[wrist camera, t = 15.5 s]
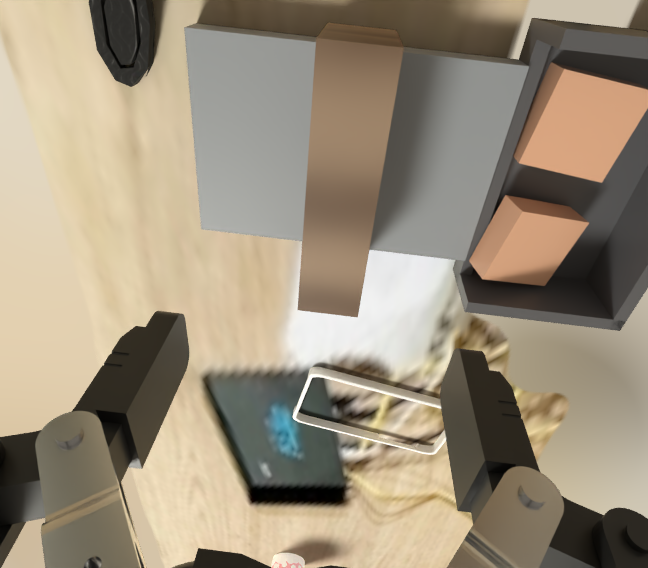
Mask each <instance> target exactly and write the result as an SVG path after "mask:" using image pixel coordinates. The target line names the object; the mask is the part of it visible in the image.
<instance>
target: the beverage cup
mask: <svg viewBox="0 0 648 568" xmlns="http://www.w3.org/2000/svg"><path fill="white" fill-rule="evenodd" d="M271 567H272V568H304V567H305V561H304V559H303V558H302V557H300V556H299V555H296V554H292V553H279V554H276V555H275V556H274V557H273V561H272V566H271Z"/></svg>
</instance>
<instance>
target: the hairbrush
mask: <svg viewBox="0 0 648 568" xmlns="http://www.w3.org/2000/svg"><path fill="white" fill-rule="evenodd" d="M89 6H90V12H91V17H92V23H93V29H94V35H95V41H96V46H97V51H98V52H99V54H100V56H101V57H102V59H103V61H104V62H105V64H106V65H107V67H108V69H109V70H110V72H111V74H112V75H113V77H114V79H115V80H116V81H118V82H121V83H123V84H126V85H128V86H130V87H132V86H134V85H136V84H137V83H139V81H140V80H141V78H142V77H143V75H144V74H145V72H146V71H147V69H148V72H149V70H150V68H151V66H152V64H153V58H154V38H155V17H154V10H153V3H152V0H89ZM134 62H135V64H134V66H130V67H127V66H126V65H130V64H132V63H134ZM148 67H149V68H148ZM148 72H147V74H148ZM146 76H147V75H146ZM146 76H145V77H146Z"/></svg>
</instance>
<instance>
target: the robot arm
mask: <svg viewBox="0 0 648 568" xmlns="http://www.w3.org/2000/svg"><path fill="white" fill-rule="evenodd" d="M188 360H189V345H188V338H187V330H186V322H185V317H184V315H183V314H179V313H171V312H163V311H156V312H155V313H154V314H153V316H152V318H151V319H150V321H149V323H148V324H147V326H146V327H140V326H135V327H134V328H133V329H131V330H130V331H129V332H128V333H126V334H125V335H124V336H122V337H121V338H120V340H119V341H118V343H117V344H116V346H115V347H114V349H113V350H112V354H110V355H109V356H108V358H107V359H106V361H105V363H104V366H102V367H101V369H100V370H99V372H98V373H97V375H96V376H95V378H94V379H93V381H92V382H91V384H90V385H89V387H88V388H87V390H86V391H85V393H84V394H83V396H82V398H81V399H80V401H79V402H78V404H77V405H76V407H75V408H74V409H73V411H72V412H69V413H65V414H63V415H61V416H59V417H57V418H55V419H53V420H52V421H50V422H49V423H48V424H47V425H46V426H45V427H44V428H43V429H42V430H40V431H36V432H30V433H24V434H18V435H11V436H5V437H0V568H1V567H2V565H3V563H4V561H5V559H6V557H7V556H8V554H9V552H10V550H11V548H12V547H13V545H14V543H15V541H16V539H17V538H18V536H19V534H20V532H21V530H22V528H23V526H24V525H25V523H26V521H31V520H36V519H41V518H45V523H43V524H42V526H41V537H42V545H43V553H44V560H45V568H147V567H146V564H145V561H144V557H143V554H142V552H141V548H140V545H139V541H138V538H137V534H136V531H135V527H134V524H133V520H132V517H131V513H130V510H129V506H128V503H127V500H126V496H125V492H124V489H123V485H122V482H121V481H122V479H123V477H124V475H125V472H126V471H127V468H128V467H131V468H139V469H142V468H143V465H144V463H145V461H146V459H147V456H148V454H149V452H150V450H151V448H152V445H153V443H154V441H155V439H156V436H157V434H158V432H159V430H160V427H161V425H162V423H163V421H164V418H165V416H166V414H167V412H168V409H169V407H170V405H171V403H172V401H173V398H174V396H175V394H176V392H177V389H178V387H179V385H180V383H181V380H182V378H183V376H184V374H185V371H186V369H187V365H188ZM440 403H441V410H442V416H443V422H444V428H445V435H446V441H447V447H448V454H449V460H450V466H451V472H452V479H453V485H454V491H455V498H456V504H457V510H458V511H464V512H471V514H472V519H473V526H472V528H471V529H470V531H469V533H468V534H467V536H466V537H465V539H464V541H463V542H462V544H461V546H460V547H459V549H458V550H457V552H456V554H455V555H454V557H453V559H452V560H451V562H450V563H449V565H448V567H447V568H648V519H647V518H645V517H644V516H643V515H641V514H639V513H637V512H635V511H632V510H630V509H626V508H614V509H611V510H609V511H608V512H607V513H606V514H605V515H602V514H599V513H597V512H594V511H592V510H590V509H587V508H585V507H583V506H581V505H578V504H576V503H574V502H571V501H570V500H567V499H566V498H564V497H563V496H561V494H560V492H559V490H558V489H557V487H556V486H555V485H554V483H553V482H552V481H551V480H550V479H548V478H547V477H546V476H545V475H544V474H542V473H541V472H540V470H539V468H538V465H537V462H536V459H535V456H534V453H533V450H532V447H531V444H530V441H529V438H528V435H527V432H526V429H525V426H524V423H523V420H522V419H521V414H520V411H519V408H518V406H517V402H516V399H515V396H514V393H513V390H512V387H511V385H510V384H509V383H508V382H507V380H506V379H505V378H504V377H503V375H502V374H501V373H500V372H497V371H489V368H488V364H487V361H486V357H485V355H484V353H483V352H482V351H474V350H466V349H455V350H454V352H453V355H452V357H451V360H450V363H449V366H448V368H447V371H446V374H445V376H444V379H443V382H442V385H441V392H440ZM173 568H272V567H269V566H267V565H265V564H263V563H260V562H258V561H256V560H254V559H252V558H249V557H247V556H245V555H243V554H238V553H231V552H223V551H215V550H208V549H200V548H198V551H197V554H196V558H195V561H193V562H187V563H184V564H181V565H178V566H175V567H173ZM319 568H346V567H338V566H325V567H319Z"/></svg>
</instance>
